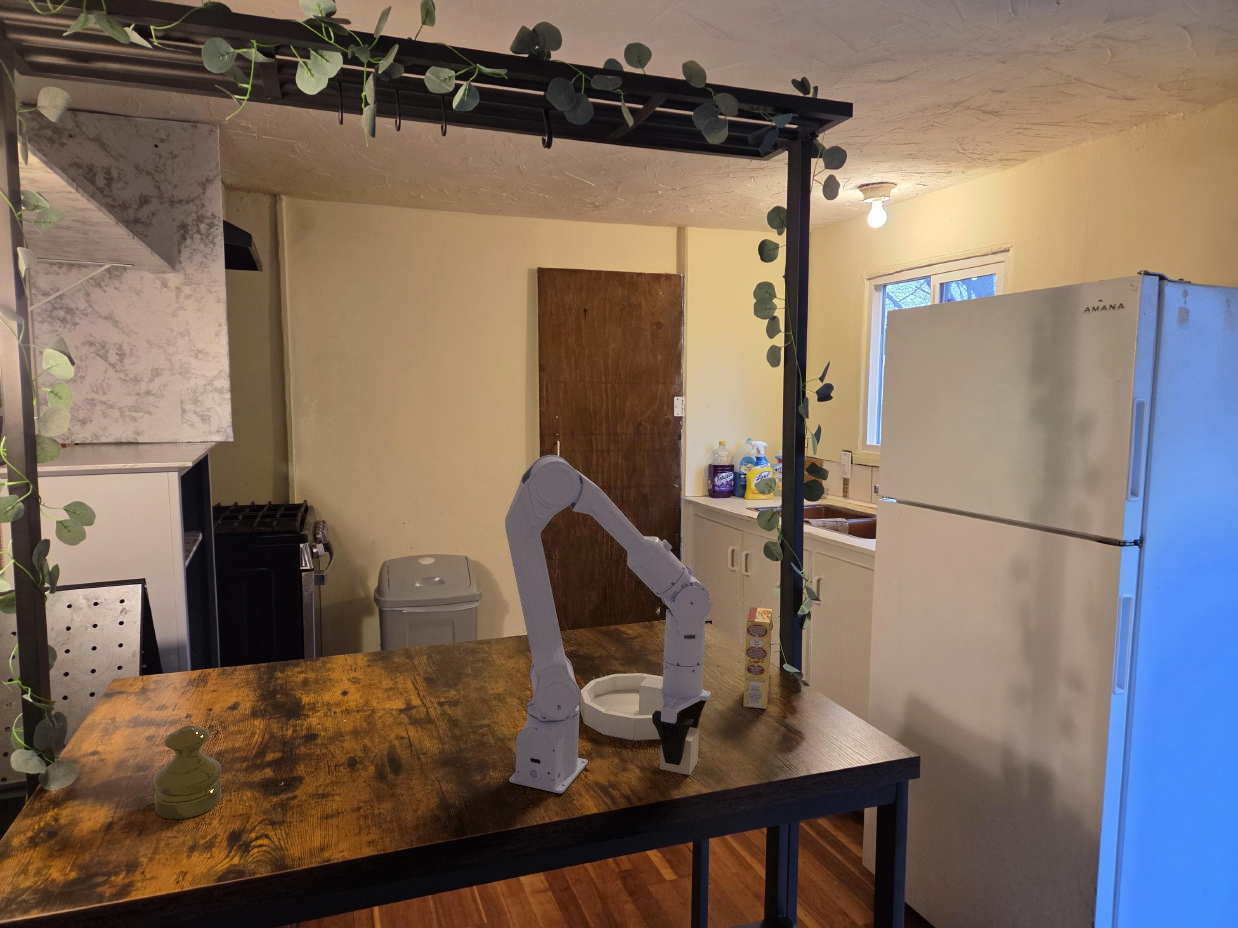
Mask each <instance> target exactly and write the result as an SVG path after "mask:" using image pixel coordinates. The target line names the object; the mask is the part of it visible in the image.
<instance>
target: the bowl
mask: <svg viewBox="0 0 1238 928" xmlns="http://www.w3.org/2000/svg"><path fill="white" fill-rule="evenodd" d="M648 676H651V677H657V678H663V676H661V675H660V676H659V675H656V674H655V675H653V674H648V673H643V672H639V673H637V672H636V673H614V674H609V675H605V676H602V677H599V678H595V679H591V680H590V681H589V682H588V683H587V684H586V685H585V686H584V687H583V688H582V689H581V690H580V702H579V713H580V715H581V718H582V721H583V724H585V725H586V726H588V727H589V728H592V729H593V730H594V731H597V732H598V733H601V734H602V735H604V736H609V737H614V738H619V739H625V740H630V741H648V740H649V741H650V740H660V737H659V734H658V731H657V729H656V727H655V726H654V724H653V722H652V715H639V690H640V684H641V683H642V682H643V681H644V680H645V679H646V678H647V677H648Z"/></svg>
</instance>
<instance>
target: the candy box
mask: <svg viewBox="0 0 1238 928" xmlns="http://www.w3.org/2000/svg"><path fill="white" fill-rule="evenodd" d="M772 622H773V609H772V608H762V607H750V608H749V611H748V617H747V620H746V628H745V629H746V630H745V631H746V632H745V656H744V657H745V659H744V661H745V662H744V687H743V707H745V708H754V709H763V710H766V709H767V705H768V698H769V689H770V688H769V687H770V674H771V673H770V672H771V650H772V648H771V647H772Z"/></svg>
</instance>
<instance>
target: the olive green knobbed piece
mask: <svg viewBox="0 0 1238 928" xmlns="http://www.w3.org/2000/svg"><path fill="white" fill-rule="evenodd" d="M210 737H211V733H210V730H208V729H206V728H204V727H200V726H194V725H184V726H182V727H180V728H178V729H176V730H175V731H172V732H171V733H169V734H168V735H167V736H166V737H165V738H164V743H163V744H164V746H165V747H166V748H168V749H170V750H172V751H173V752H174V753H175V756H174V757H173V758H172V759H171V760H170V761H168V762H167V764H166V765H164V766H163V767H162V768H160V769H159V770H158V771H157V772H156V773H155V775H154V778H153V785H154V788H155V793H154V795H153V798H154V809H155V813H156V815H157V816H159V817H161V818H162V819H163V818H164V819H166V820H167V819H168V820H184V819H190V818H194V817H197V816H200V815H202V814H205V813H207V812H208V811H210V810H212V809H213V808H214V807H216V806H217V805H218V804H219V802H220V801H221V799H222V784H223V783H222V782H223V781H222V780H221V779H220V777H221V774H222V765H221V763H220V762H219V761H217V760H216V758H212V757H209V756H208V755H206V754H204V753H203V752H202V751H201V748H202V746H203V745H204V744H205V743H207V742H208V741H209V739H210Z"/></svg>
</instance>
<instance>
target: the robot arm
mask: <svg viewBox="0 0 1238 928" xmlns="http://www.w3.org/2000/svg"><path fill="white" fill-rule="evenodd" d="M516 489H517V490H516V491H515V494H514V497H513V499H512V501H511V503H510V505H509V509H508V511H507V513H506V516H505V519H504V527H505V528H504V529H505V532H506V533H505V534H506V539H507V542H508V547H509V552H510V557H511V562H512V567H513V571H514V576H515V582H516V587H517V590H518V591H517V592H518V596H519V600H520V606H521V609H522V610H521V611H522V615H523V620H524V625H525V629H526V633H527V634H526V635H527V639H528V644H529V649H530V653H531V660H532V663H531V666H530V670H529V680H530V683H531V685H532V686H531V687H532V694H533V695H532V697H531V699H530V701H529V702H527V705H526V706H527V715H526V721H525V723H524V725H523V728H522V729H521V730H520V732H519V733H518V735H517V736H516V740H515V771H514V773H513V774H512V775H511V776H510V777H509V778H508V782H510V783H511V784H516V785H521V786H525V787H529V788H533V789H537V790H543V791H547V792H550V793H551V792H552V793H555V794H563V793H565V791H566V790H567V789H568V787H570V785H571V784H572V783H573V781H575V779H576V778H577V777H578V776H579V775H580V773H582V771H583V770H584V769H585V768H586V766H587V765H588V764H589V761H588V759H585V758H580V757H579V736H580V735H579V732H580V730H579V729H580V728H579V727H580V699H581V690H580V687H579V685H578V683H577V682H576V678H575V673H574V667H573V665H572V662H571V660H570V659H569V658H568V657H567V655H565V650H564V644H563V639H562V635H561V631H560V625H559V620H558V615H557V611H556V606H555V605H556V604H555V600H554V596H553V589H552V586H551V585H552V584H551V581H550V575H549V570H548V564H547V560H546V556H545V550H544V545H543V541H542V537H541V536H542V535H541V533H542V532H543V530H544V529H545V528H546V527H547V525H548V524H549V522H550V521H552V518H553V517H554V516H555V515H556V514H558V513H559V512H561V511H563V510H564V509H566V508H568V507H569V508H570V509H571V511H572V512H576V513H581V514H586V515H590V516H591V517H592V518H593V519H594V520H595V521H596V522H597V523H598V524H599V525H600V526H601V527H602V528H603V529H604V530H605V531H606V532H607V533H608V534H609V535H610V536H611V537H612V538H614V540H615V541H617V543H619V545H620V546H621V547H622V548H624V549H625V551H626V552H627V554H626V555H627V559H626V561H627V562H626V563H627V567H628V568H629V569H630V570H631V571H632V572H633V573H634V574H635V575H636V576H637V577H638V578H639V579H640V580H641V581H642V582H643V583H644V585H646V586H647V587H648V588H649V590H650V591H651V592H653V594H654V595H655V596H657V597H658V598H659V599H660V598H661V601H662V604H664V605H666V606H667V609H666V610H665V626H664V643H663V645H664V646H663V666H662V667H663V669H662V670H663V671H662V677H663V686H662V688H661V697H662V704H663V706H662V707H661V711H657V710H656V711H655V712H654V713H653V715H652V722H653V724H654V726H655V727H656V729H657V731H658V734H659V737H660V739H659V740H660V746H661V745H662V750H663V755H664V759H665V763H669V764H674V765H680V763H681V760H682V757H683V752H684V746H685V741H686V737H687V734H688V731H689V729H690V727H692V728H697V729H699V723H700V719H701V716H702V713H703V710H704V708H705V705H706V702H707V701H709V700H710V698H711V696H712V693H711V691H709V690H705V689H704V687H703V686H704V669H705V668H704V666H705V665H704V661H705V643H706V629H705V628H706V624H705V623H706V618H707V617H708V616H709V615H710V613H711V611H712V607H713V601H711V597H710V592H709V590H708V589H707V588H706V586H704V585H703V583H701V582H700V580H698V579H697V578H696V577H695V575H694V572H695V571H694V570H693V569H692V568H691V566H689V565H686V566H685V565H684V564H683V563H682V562H681V561H680V559H679V558H677V556H676V555H675V554H674V553H673V552H672V551H671V550H672V548H673V547H672V545H671V544H670V543H669V542H668V541H667V540H666V539H663V540H662V541H661V539H659V537H658V536H647V535H646V536H644V535H643V534H642V533H641V532H640V531H639V530H638V529H637V527H635V525H634V524H633V523H632V522H631V520H630V519H628V518H627V517H626V516H625V515H624V513H623V512H622V511H621V510H620V509H619V508H618V506H617V505H616V504H615V503H614V502H613V501H612V499H611V498H609V496H608V495H607V494H606V493H605V492H604V491H603V490H602V489H601V488H600V487H599V486H598V485H596V483H595V482H593V481H591V480H590V479H589V478H588V477H587V476H585V475H584V474H583V473H582V472H580V471H579V470H577V469H575V468H574V467H573V466H572V465H570V463H569V462H568V461H567V460H566V459H565V458H563V457H561V456H559V455H556V454H548V455H543V456H541V457H539V458H537V459H536V460H535V461H534V462H533V463H532V464H531V465H530V466H529V467H528V469H526V471H524V473H523V474H522V476H521V478H520V481H519V484H518V487H517V488H516Z"/></svg>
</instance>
